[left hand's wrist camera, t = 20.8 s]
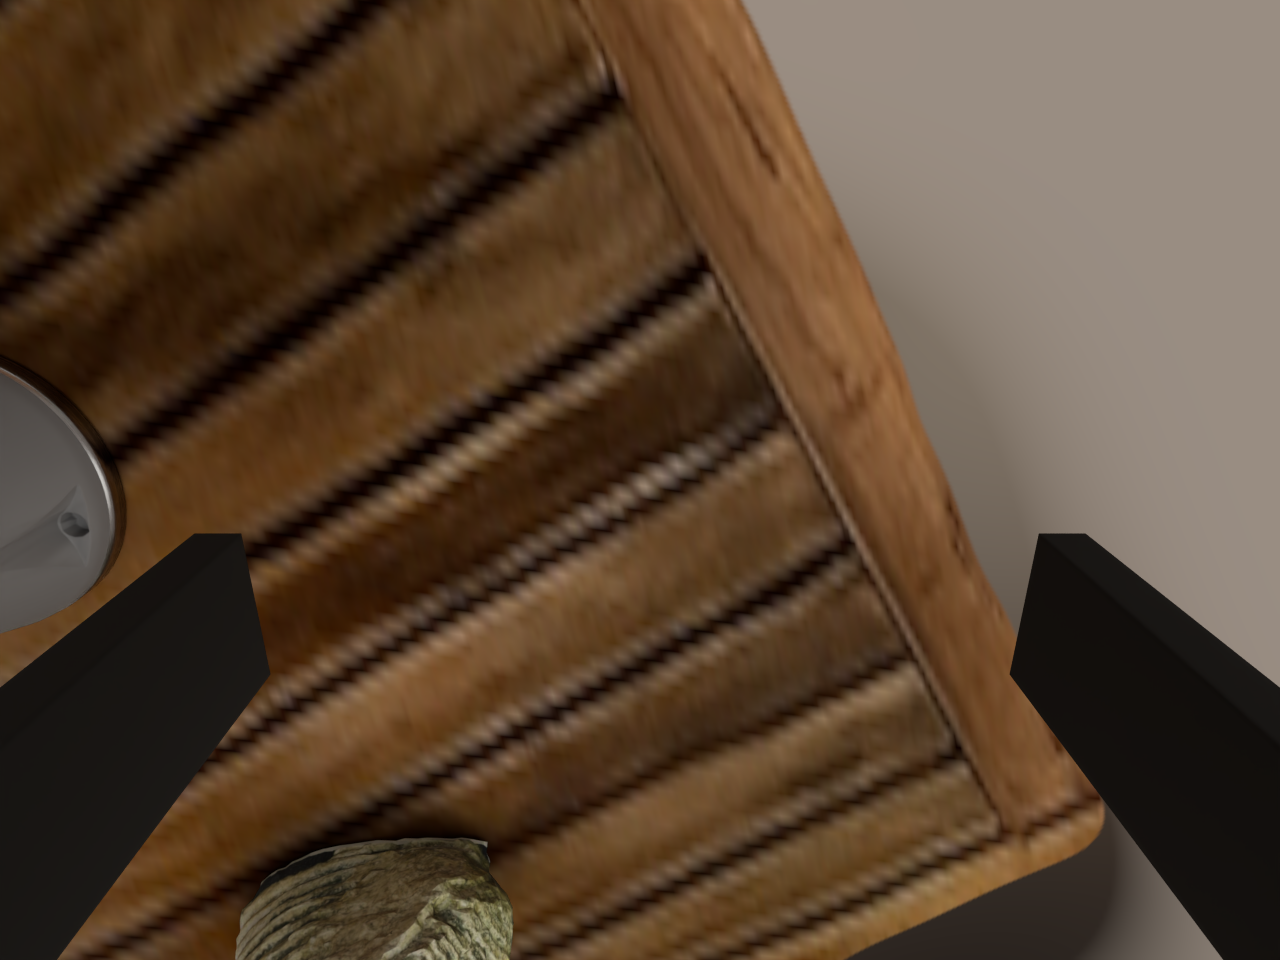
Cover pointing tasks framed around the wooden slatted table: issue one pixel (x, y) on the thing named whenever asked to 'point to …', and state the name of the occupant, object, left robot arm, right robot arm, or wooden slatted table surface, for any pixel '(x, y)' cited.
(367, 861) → the fossil
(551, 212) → the wooden slatted table surface
